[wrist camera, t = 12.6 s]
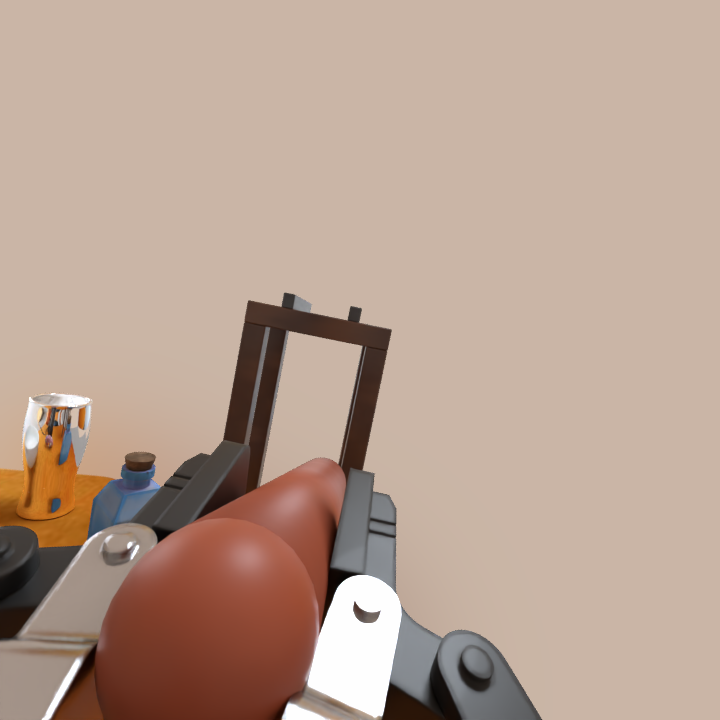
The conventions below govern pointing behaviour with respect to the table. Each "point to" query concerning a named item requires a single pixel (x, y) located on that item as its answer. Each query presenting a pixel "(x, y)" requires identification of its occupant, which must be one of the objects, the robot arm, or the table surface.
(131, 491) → the perfume bottle
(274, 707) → the sausage
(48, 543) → the table surface
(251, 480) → the shelf stand
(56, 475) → the silver metal tumbler
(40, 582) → the robot arm
